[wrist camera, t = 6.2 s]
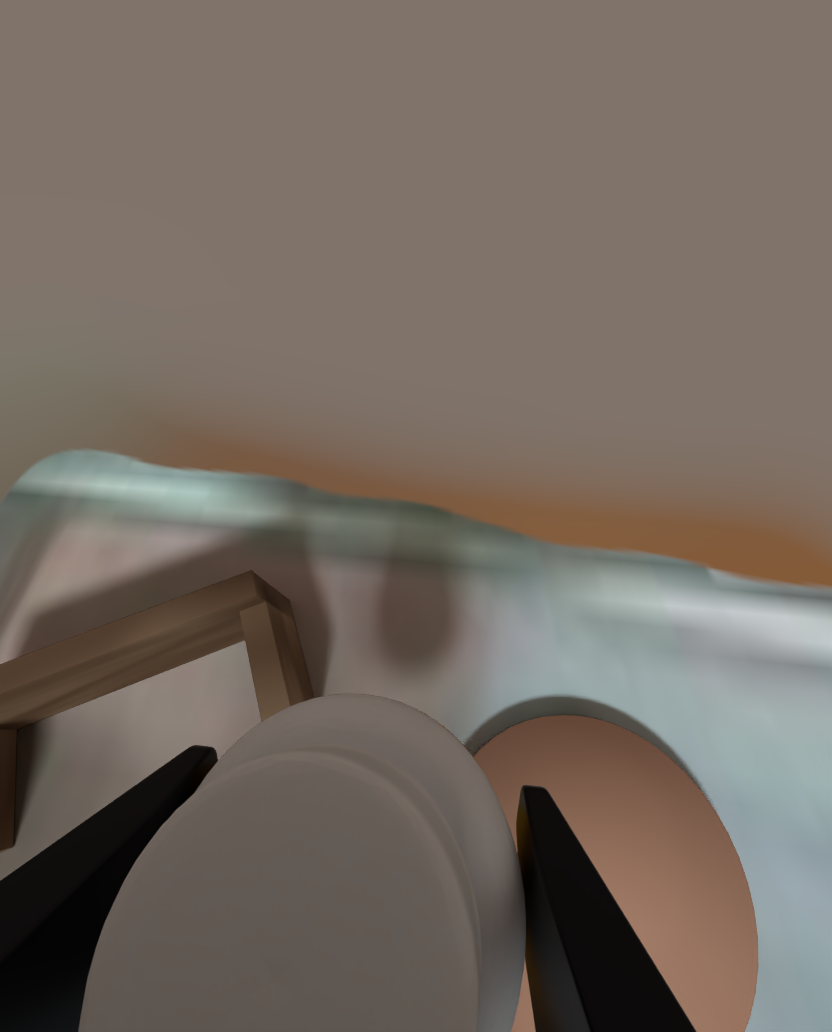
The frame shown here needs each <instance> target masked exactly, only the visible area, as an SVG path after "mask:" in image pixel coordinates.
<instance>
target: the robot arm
mask: <svg viewBox="0 0 832 1032" xmlns="http://www.w3.org/2000/svg"><path fill="white" fill-rule="evenodd" d="M217 762H218V759H217V753H216V750H215V749H214V748H213V747H208V746H199V745H194V746H191V747H189V748H188V749H186V750H185V751H183V752H182V753H180V754H179V755H178V756H176V757H175V758H173V759H172V760H171V761H169V762H168V763H166V764H165V765H164V766H162V767H161V768H159V769H158V770H156V771H155V772H154V773H152V774H151V775H149V776H148V777H147V778H145V779H144V780H142V781H141V782H139V783H138V784H137V785H135V786H134V787H132V788H131V789H130V790H128V791H127V792H125V793H124V794H123V795H121V796H120V797H118V798H117V799H115V800H114V801H113V802H111V803H110V804H108V805H107V806H106V807H104V808H103V809H101V810H100V811H98V812H97V813H96V814H94V815H93V816H91V817H90V818H89V819H87V820H86V821H84V822H83V823H81V824H80V825H79V826H77V827H76V828H74V829H73V830H72V831H70V832H69V833H67V834H66V835H65V836H63V837H62V838H60V839H59V840H57V841H56V842H55V843H53V844H52V845H50V846H49V847H48V848H46V849H45V850H43V851H42V852H40V853H39V854H38V855H36V856H35V857H33V858H32V859H31V860H29V861H28V862H26V863H25V864H24V865H22V866H21V867H19V868H18V869H16V870H15V871H14V872H12V873H11V874H9V875H8V876H7V877H5V878H4V879H2V880H1V881H0V1032H78V1031H79V1024H80V1017H81V1012H82V1006H83V1000H84V995H85V989H86V984H87V978H88V974H89V971H90V967H91V963H92V960H93V956H94V953H95V949H96V946H97V943H98V940H99V937H100V934H101V931H102V929H103V926H104V923H105V921H106V919H107V916H108V914H109V912H110V910H111V908H112V905H113V903H114V901H115V899H116V897H117V895H118V893H119V891H120V888H121V886H122V884H123V882H124V880H125V878H126V877H127V875H128V873H129V872H130V870H131V868H132V867H133V865H134V863H135V861H136V860H137V858H138V857H139V856H140V854H141V853H142V851H143V850H144V849H145V847H146V846H147V845H148V843H149V842H150V840H151V839H152V838H153V836H154V835H155V834H156V832H157V831H158V830H159V828H160V827H161V826H162V825H163V823H165V822H166V821H167V820H168V819H169V818H170V816H171V815H172V814H173V813H174V812H175V810H176V809H177V808H179V807H180V806H181V805H182V804H183V803H185V802H186V801H187V800H188V799H189V798H190V797H191V796H192V795H193V794H194V793H195V791H196V790H197V788H198V787H199V786H200V784H201V783H202V781H203V780H204V778H205V777H206V775H207V774H208V773H209V772H210V770H211V769H212V768H213V767H214V765H215V764H216V763H217ZM516 836H517V854H518V859H519V863H520V869H521V876H522V882H523V888H524V895H525V910H526V946H525V963H526V970H527V976H528V983H529V990H530V997H531V1003H532V1010H533V1017H534V1024H535V1030H536V1032H697V1031H696V1030H695V1028H694V1026H693V1025H692V1023H691V1022H690V1020H689V1018H688V1017H687V1015H686V1014H685V1012H684V1010H683V1009H682V1007H681V1005H680V1004H679V1002H678V1001H677V999H676V997H675V996H674V994H673V992H672V991H671V989H670V988H669V986H668V984H667V983H666V981H665V980H664V978H663V976H662V975H661V973H660V971H659V970H658V968H657V967H656V965H655V963H654V962H653V960H652V958H651V957H650V955H649V954H648V952H647V950H646V949H645V947H644V945H643V944H642V942H641V941H640V939H639V937H638V936H637V934H636V933H635V931H634V929H633V928H632V926H631V924H630V923H629V921H628V920H627V918H626V916H625V915H624V913H623V911H622V910H621V908H620V907H619V905H618V903H617V902H616V900H615V899H614V897H613V895H612V894H611V892H610V890H609V889H608V887H607V886H606V884H605V882H604V881H603V879H602V877H601V876H600V874H599V873H598V871H597V869H596V868H595V866H594V865H593V863H592V861H591V860H590V858H589V856H588V855H587V853H586V852H585V850H584V848H583V847H582V845H581V843H580V842H579V840H578V839H577V837H576V835H575V834H574V832H573V831H572V829H571V827H570V826H569V824H568V822H567V821H566V819H565V818H564V816H563V814H562V813H561V811H560V809H559V808H558V806H557V805H556V803H555V801H554V800H553V798H552V796H551V795H550V793H549V792H548V790H547V789H545V788H544V787H540V786H532V785H523V786H522V788H521V791H520V797H519V804H518V811H517V819H516Z"/></svg>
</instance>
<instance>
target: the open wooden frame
mask: <svg viewBox="0 0 832 1032" xmlns="http://www.w3.org/2000/svg"><path fill="white" fill-rule="evenodd" d="M244 640H245V642H246V647H247V652H248V657H249V662H250V666H251V671H252V676H253V681H254V686H255V691H256V696H257V701H258V706H259V711H260V716H261V721H262V722H263V721H264V720H266V719H267V718H269V717H271V716H273V715H274V714H276V713H278V712H280V711H282V710H284V709H286V708H288V707H290V706H293V705H295V704H298V703H301V702H304V701H307V700H310V699H313V698H314V695H313V691H312V687H311V683H310V680H309V676H308V672H307V668H306V664H305V660H304V656H303V652H302V649H301V645H300V641H299V637H298V633H297V629H296V625H295V622H294V618H293V614H292V610H291V606H290V602H289V599H287V598H286V597H285V596H283V595H282V594H281V593H280V592H278V591H277V590H276V589H274V588H273V587H272V586H271V585H269V584H268V583H267V582H266V581H264V580H263V579H262V578H260V577H259V576H258V575H257V574H255V573H254V572H253V571H252V570H251V571H248V572H245V573H243V574H240V575H237V576H235V577H232V578H229V579H227V580H224V581H221V582H219V583H216V584H213V585H211V586H208V587H205V588H203V589H200V590H197V591H195V592H192V593H189V594H187V595H184V596H181V597H179V598H176V599H173V600H171V601H168V602H165V603H163V604H160V605H157V606H155V607H152V608H149V609H147V610H144V611H141V612H139V613H136V614H133V615H131V616H128V617H125V618H123V619H120V620H117V621H115V622H112V623H109V624H107V625H104V626H101V627H99V628H96V629H93V630H91V631H88V632H85V633H83V634H80V635H77V636H75V637H72V638H69V639H67V640H64V641H61V642H59V643H56V644H53V645H51V646H48V647H45V648H43V649H40V650H37V651H35V652H32V653H29V654H27V655H24V656H21V657H19V658H16V659H13V660H11V661H8V662H5V663H3V664H0V852H3V851H5V850H7V849H10V848H12V847H13V840H14V809H15V777H16V746H17V729H19V728H22V727H24V726H27V725H29V724H32V723H35V722H37V721H40V720H42V719H45V718H47V717H50V716H52V715H55V714H57V713H60V712H63V711H65V710H68V709H70V708H73V707H75V706H78V705H80V704H83V703H85V702H88V701H91V700H93V699H96V698H98V697H101V696H103V695H106V694H108V693H111V692H114V691H116V690H119V689H121V688H124V687H126V686H129V685H131V684H134V683H136V682H139V681H142V680H144V679H147V678H149V677H152V676H154V675H157V674H159V673H162V672H164V671H167V670H170V669H172V668H175V667H177V666H180V665H182V664H185V663H187V662H190V661H193V660H195V659H198V658H200V657H203V656H205V655H208V654H210V653H213V652H215V651H218V650H221V649H223V648H226V647H228V646H231V645H233V644H236V643H238V642H241V641H244Z"/></svg>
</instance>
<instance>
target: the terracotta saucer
mask: <svg viewBox="0 0 832 1032" xmlns="http://www.w3.org/2000/svg"><path fill="white" fill-rule="evenodd" d="M473 757H474V758H475V759H476V761H477V762H478V764H479V766H480V767H481V769H482V770H483V772H484V773H485V775H486V776H487V778H488V780H489V782H490V784H491V786H492V788H493V789H494V791H495V793H496V795H497V797H498V800H499V802H500V804H501V807H502V809H503V812H504V814H505V816H506V819H507V822H508V824H509V827H510V830H511V833H512V836H513V839H514V843H515V847H516V851H517V836H516V819H517V811H518V804H519V797H520V791H521V788H522V786H523V785H532V786H540V787H544V788H545V789H547V790H548V792H549V793H550V795H551V796H552V798H553V800H554V801H555V803H556V805H557V806H558V808H559V809H560V811H561V813H562V814H563V816H564V818H565V819H566V821H567V822H568V824H569V826H570V827H571V829H572V831H573V832H574V834H575V835H576V837H577V839H578V840H579V842H580V843H581V845H582V847H583V848H584V850H585V852H586V853H587V855H588V856H589V858H590V860H591V861H592V863H593V865H594V866H595V868H596V869H597V871H598V873H599V874H600V876H601V877H602V879H603V881H604V882H605V884H606V886H607V887H608V889H609V890H610V892H611V894H612V895H613V897H614V899H615V900H616V902H617V903H618V905H619V907H620V908H621V910H622V911H623V913H624V915H625V916H626V918H627V920H628V921H629V923H630V924H631V926H632V928H633V929H634V931H635V933H636V934H637V936H638V937H639V939H640V941H641V942H642V944H643V945H644V947H645V949H646V950H647V952H648V954H649V955H650V957H651V958H652V960H653V962H654V963H655V965H656V967H657V968H658V970H659V971H660V973H661V975H662V976H663V978H664V980H665V981H666V983H667V984H668V986H669V988H670V989H671V991H672V992H673V994H674V996H675V997H676V999H677V1001H678V1002H679V1004H680V1005H681V1007H682V1009H683V1010H684V1012H685V1014H686V1015H687V1017H688V1018H689V1020H690V1022H691V1023H692V1025H693V1026H694V1028H695V1030H696V1031H697V1032H745V1029H746V1027H747V1024H748V1021H749V1019H750V1015H751V1010H752V1006H753V1002H754V997H755V993H756V983H757V973H758V936H757V928H756V920H755V912H754V907H753V903H752V898H751V894H750V890H749V886H748V882H747V879H746V876H745V873H744V870H743V867H742V864H741V861H740V859H739V856H738V854H737V852H736V849H735V847H734V845H733V843H732V841H731V838H730V836H729V834H728V832H727V830H726V829H725V827H724V825H723V823H722V822H721V820H720V818H719V816H718V815H717V813H716V811H715V810H714V808H713V807H712V806H711V804H710V803H709V801H708V800H707V798H706V797H705V796H704V794H703V793H702V791H701V790H700V789H699V788H698V787H697V786H696V784H695V783H694V782H693V781H692V780H691V779H690V777H689V776H688V775H687V774H686V773H685V772H684V771H683V770H682V769H681V768H680V767H679V766H678V765H677V764H676V763H675V762H674V761H672V760H671V759H670V758H669V757H668V756H667V755H665V754H664V753H663V752H662V751H660V750H659V749H658V748H656V747H655V746H654V745H652V744H651V743H649V742H648V741H646V740H644V739H643V738H641V737H639V736H638V735H636V734H634V733H633V732H630V731H628V730H626V729H624V728H622V727H619V726H617V725H615V724H612V723H608V722H605V721H602V720H599V719H595V718H589V717H583V716H573V715H555V716H545V717H538V718H534V719H531V720H527V721H523V722H521V723H518V724H516V725H514V726H511V727H509V728H507V729H506V730H504V731H502V732H501V733H499V734H497V735H496V736H494V737H493V738H492V739H490V740H489V741H488V742H487V743H486V744H485V745H483V746H482V747H481V748H480V749H479V750H478V751H477V752H476V753H475V755H474V756H473ZM517 855H518V854H517ZM511 1032H536V1030H535V1024H534V1017H533V1010H532V1003H531V997H530V990H529V983H528V976H527V970H526V963H525V961H524V971H523V977H522V983H521V990H520V996H519V1003H518V1007H517V1011H516V1015H515V1019H514V1023H513V1026H512V1029H511Z"/></svg>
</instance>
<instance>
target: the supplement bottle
mask: <svg viewBox="0 0 832 1032" xmlns="http://www.w3.org/2000/svg"><path fill="white" fill-rule="evenodd" d="M525 946H526V910H525V895H524V888H523V882H522V876H521V869H520V863H519V859H518V855H517V851H516V847H515V843H514V839H513V836H512V833H511V830H510V827H509V824H508V822H507V819H506V816H505V814H504V812H503V809H502V807H501V804H500V802H499V800H498V797H497V795H496V793H495V791H494V789H493V788H492V786H491V784H490V782H489V780H488V778H487V776H486V775H485V773H484V772H483V770H482V769H481V767H480V766H479V764H478V762H477V761H476V759H475V758H474V757H473V756H472V755H471V753H470V752H469V751H468V750H467V749H466V748H465V747H464V745H463V744H462V743H461V742H460V741H459V740H458V739H457V738H456V737H455V736H454V735H453V734H452V733H451V732H450V731H449V730H447V729H446V728H445V727H444V726H442V725H441V724H440V723H438V722H437V721H435V720H434V719H432V718H431V717H429V716H428V715H426V714H425V713H423V712H421V711H419V710H417V709H415V708H413V707H410V706H408V705H406V704H404V703H401V702H398V701H395V700H392V699H388V698H384V697H379V696H374V695H365V694H336V695H329V696H323V697H318V698H313V699H310V700H307V701H304V702H301V703H298V704H295V705H293V706H290V707H288V708H286V709H284V710H282V711H280V712H278V713H276V714H274V715H273V716H271V717H269V718H267V719H266V720H264V721H263V722H261V723H260V724H258V725H257V726H255V727H254V728H253V729H251V730H250V731H249V732H248V733H246V734H245V735H244V736H243V737H242V738H240V739H239V740H238V741H237V742H236V743H235V744H234V745H233V746H232V747H231V748H230V749H229V750H228V751H227V752H226V753H225V754H224V755H223V756H222V757H221V758H220V759H219V760H218V762H217V763H216V764H215V765H214V767H213V768H212V769H211V770H210V772H209V773H208V774H207V775H206V777H205V778H204V780H203V781H202V783H201V784H200V786H199V787H198V788H197V790H196V791H195V793H194V794H193V795H192V796H191V797H190V798H189V799H188V800H187V801H186V802H185V803H183V804H182V805H181V806H180V807H179V808H177V809H176V810H175V812H174V813H173V814H172V815H171V816H170V818H169V819H168V820H167V821H166V822H165V823H163V825H162V826H161V827H160V828H159V830H158V831H157V832H156V834H155V835H154V836H153V838H152V839H151V840H150V842H149V843H148V845H147V846H146V847H145V849H144V850H143V851H142V853H141V854H140V856H139V857H138V858H137V860H136V861H135V863H134V865H133V867H132V868H131V870H130V872H129V873H128V875H127V877H126V878H125V880H124V882H123V884H122V886H121V888H120V891H119V893H118V895H117V897H116V899H115V901H114V903H113V905H112V908H111V910H110V912H109V914H108V916H107V919H106V921H105V923H104V926H103V929H102V931H101V934H100V937H99V940H98V943H97V946H96V949H95V953H94V956H93V960H92V963H91V967H90V971H89V974H88V978H87V984H86V989H85V995H84V1000H83V1006H82V1012H81V1017H80V1024H79V1031H78V1032H511V1029H512V1026H513V1023H514V1019H515V1015H516V1011H517V1007H518V1003H519V996H520V990H521V983H522V977H523V971H524V961H525Z"/></svg>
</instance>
